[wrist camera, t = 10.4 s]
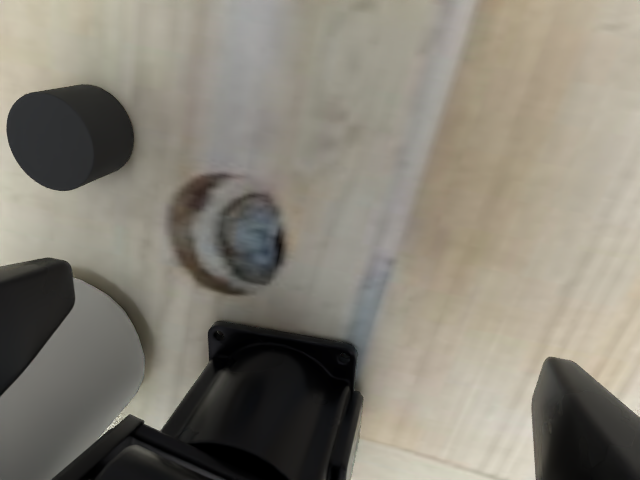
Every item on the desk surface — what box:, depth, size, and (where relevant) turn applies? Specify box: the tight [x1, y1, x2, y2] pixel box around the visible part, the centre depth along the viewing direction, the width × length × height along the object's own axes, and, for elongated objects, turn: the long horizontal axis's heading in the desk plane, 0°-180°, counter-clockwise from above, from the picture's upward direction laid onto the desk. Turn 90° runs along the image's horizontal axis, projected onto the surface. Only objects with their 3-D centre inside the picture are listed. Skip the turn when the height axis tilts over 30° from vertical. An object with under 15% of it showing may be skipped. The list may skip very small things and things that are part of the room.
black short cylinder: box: [7, 85, 133, 191], centre depth 19 cm, size 4×4×2 cm
